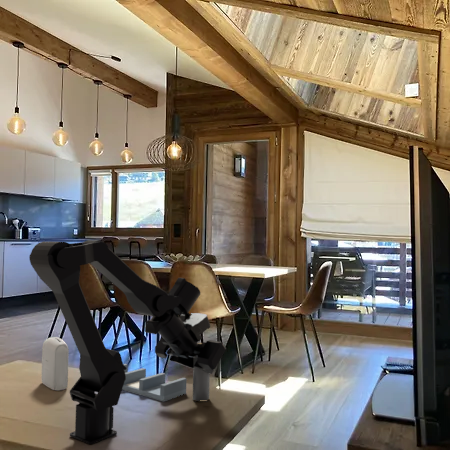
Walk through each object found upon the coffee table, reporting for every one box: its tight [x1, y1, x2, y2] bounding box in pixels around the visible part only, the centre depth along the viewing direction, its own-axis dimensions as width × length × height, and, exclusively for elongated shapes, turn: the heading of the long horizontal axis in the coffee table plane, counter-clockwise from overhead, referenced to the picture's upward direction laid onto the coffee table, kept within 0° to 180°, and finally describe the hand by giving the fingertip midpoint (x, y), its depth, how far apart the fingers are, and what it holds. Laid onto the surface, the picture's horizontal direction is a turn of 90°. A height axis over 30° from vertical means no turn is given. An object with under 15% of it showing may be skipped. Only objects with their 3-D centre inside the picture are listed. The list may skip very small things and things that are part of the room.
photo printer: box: [41, 336, 70, 391], centre depth 122 cm, size 10×4×12 cm, turn 39°
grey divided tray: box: [122, 363, 187, 402], centre depth 121 cm, size 8×23×4 cm, turn 53°
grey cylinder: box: [192, 342, 211, 402], centre depth 114 cm, size 4×4×13 cm
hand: (205, 370), depth 115 cm, fingers open, 4 cm apart
